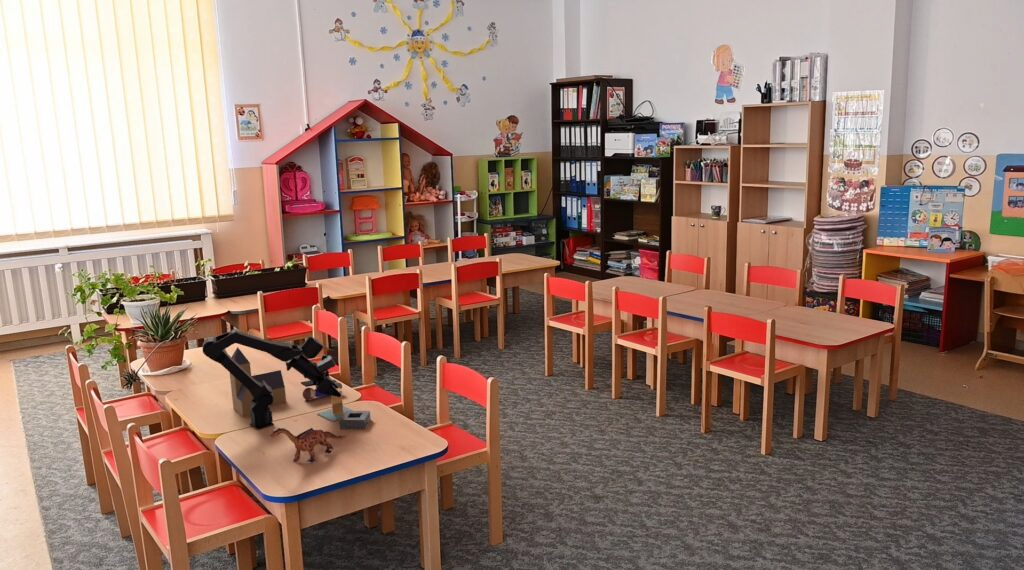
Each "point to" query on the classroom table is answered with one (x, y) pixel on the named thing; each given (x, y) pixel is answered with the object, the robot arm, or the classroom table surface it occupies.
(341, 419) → the socket block
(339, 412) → the peg
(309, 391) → the figurine character
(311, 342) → the robot arm
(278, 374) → the toy building blocks
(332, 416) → the pad
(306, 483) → the classroom table surface
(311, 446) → the toy dinosaur
